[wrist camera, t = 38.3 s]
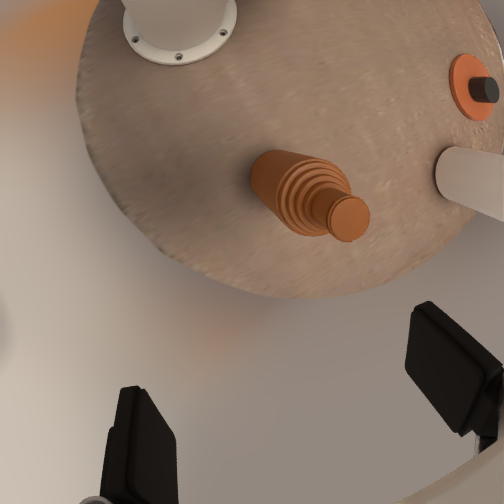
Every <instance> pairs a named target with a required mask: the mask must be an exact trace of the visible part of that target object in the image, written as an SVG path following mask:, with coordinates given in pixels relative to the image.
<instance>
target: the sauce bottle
mask: <svg viewBox="0 0 504 504" xmlns="http://www.w3.org/2000/svg"><path fill="white" fill-rule="evenodd" d="M250 181H251V186H252V189H253V191H254V192H255V194H256V195H257V196H258V197H259V198H260V199H261V200H262V201H263V202H264V203H265V204H266V205H267V206H268V207H269V209H270V210H271V211H272V212H273V213H274V214H275V215H276V216H277V217H278V218H279V219H280V220H281V221H282V222H283V223H284V224H285V225H286V226H287V227H288V228H289V229H290V230H292V231H294V232H295V233H298V234H300V235H305V236H321V235H325V234H328V233H330V234H331V235H332V236H334V237H335V238H336V239H338V240H340V241H342V242H352V241H353V240H356V239H358V238H359V237H361V236H362V235H363V234H364V233H365V231H366V230H367V228H368V225H369V222H370V213H369V209H368V207H367V205H366V204H365V202H364V201H363V200H362V199H360V198H359V197H357V196H353V195H351V188H350V185H349V182H348V180H347V178H346V177H345V175H344V174H343V173H342V171H341V170H340V169H339V168H338V167H337V166H336V165H334V164H333V163H331V162H329V161H326V160H323V159H319V158H315V157H310V156H306V155H302V154H297V153H293V152H288V151H283V150H273V151H269V152H266V153H265V154H263V155H261V156H260V157H259V158H258V159H257V160H256V162H255V163H254V165H253V167H252V170H251V174H250Z"/></svg>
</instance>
